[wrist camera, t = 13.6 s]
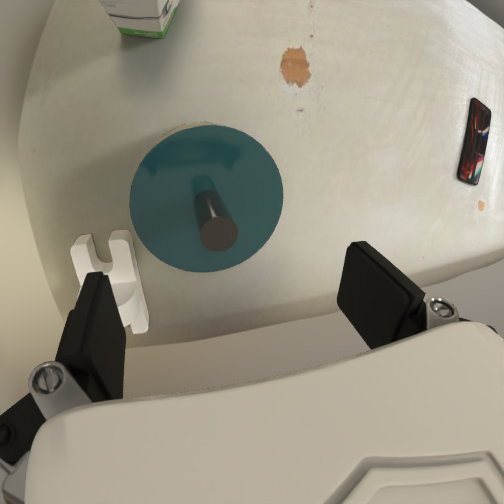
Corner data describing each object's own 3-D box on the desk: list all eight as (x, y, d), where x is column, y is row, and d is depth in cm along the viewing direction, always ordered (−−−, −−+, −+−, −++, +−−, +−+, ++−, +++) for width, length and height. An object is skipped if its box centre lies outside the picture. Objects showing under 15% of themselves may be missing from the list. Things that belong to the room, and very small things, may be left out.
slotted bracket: (74, 236, 29) (53, 271, 23) (130, 228, 31) (120, 263, 24) (102, 323, 36) (94, 366, 29) (150, 319, 37) (149, 362, 30)
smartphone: (492, 111, 34) (477, 186, 41) (489, 110, 35) (475, 185, 41) (473, 96, 32) (458, 178, 39) (470, 95, 33) (455, 177, 39)
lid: (117, 253, 24) (104, 297, 18) (155, 105, 19) (148, 103, 14) (250, 281, 28) (271, 325, 23) (303, 154, 24) (343, 172, 18)
